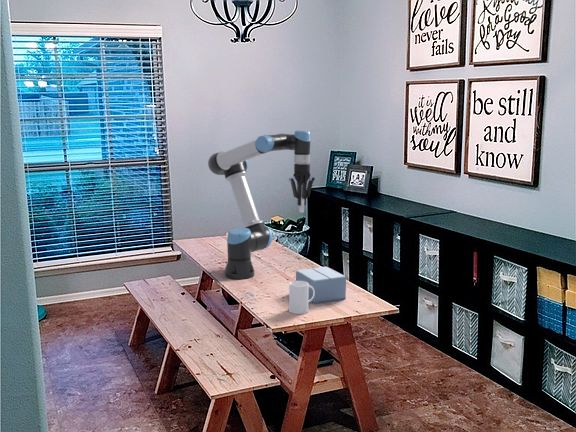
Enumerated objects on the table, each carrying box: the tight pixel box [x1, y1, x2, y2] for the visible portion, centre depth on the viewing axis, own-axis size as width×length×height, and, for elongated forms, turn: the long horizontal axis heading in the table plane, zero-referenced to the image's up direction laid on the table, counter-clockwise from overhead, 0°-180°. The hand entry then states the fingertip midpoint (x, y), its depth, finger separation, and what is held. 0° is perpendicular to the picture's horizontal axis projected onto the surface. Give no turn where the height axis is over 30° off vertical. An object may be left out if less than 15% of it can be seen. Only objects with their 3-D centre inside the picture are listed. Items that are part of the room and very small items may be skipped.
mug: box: [288, 280, 315, 315], centre depth 255 cm, size 12×8×12 cm
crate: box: [295, 270, 347, 305], centre depth 274 cm, size 16×18×10 cm
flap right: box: [311, 266, 346, 279], centre depth 274 cm, size 7×18×1 cm, turn 25°
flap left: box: [296, 268, 329, 282], centre depth 271 cm, size 7×18×1 cm, turn 25°
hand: (301, 211), depth 292 cm, fingers closed
